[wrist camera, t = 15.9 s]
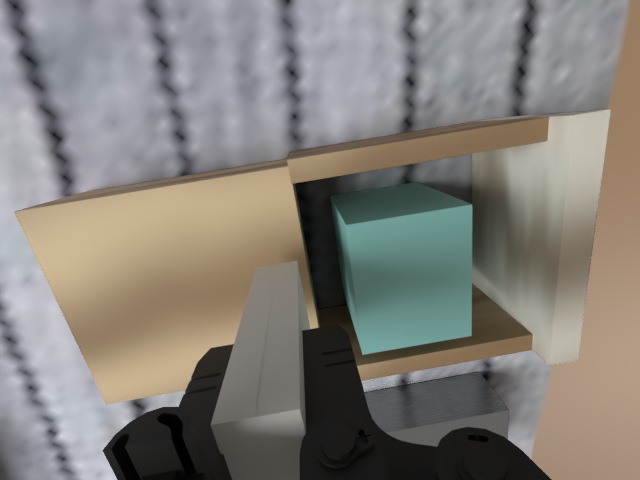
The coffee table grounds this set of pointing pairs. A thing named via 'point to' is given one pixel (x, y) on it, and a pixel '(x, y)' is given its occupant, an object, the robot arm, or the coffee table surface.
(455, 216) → the block
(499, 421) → the dark grey block
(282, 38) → the coffee table surface
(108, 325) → the drawer
